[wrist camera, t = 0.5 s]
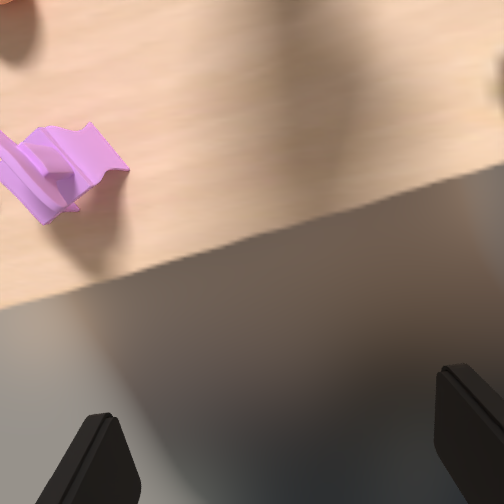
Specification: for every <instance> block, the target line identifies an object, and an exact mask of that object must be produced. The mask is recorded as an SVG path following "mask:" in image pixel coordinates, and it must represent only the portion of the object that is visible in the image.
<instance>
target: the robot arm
mask: <svg viewBox="0 0 504 504" xmlns="http://www.w3.org/2000/svg"><path fill="white" fill-rule="evenodd" d="M434 425H435V426H434V446H435V449H436V452H437V454H438V456H439V457H440V459H441V461H442V463H443V464H444V466H445V467H446V469H447V471H448V472H449V474H450V475H451V477H452V478H453V480H454V482H455V483H456V485H457V487H458V488H459V490H460V491H461V493H462V495H463V496H464V498H465V499H466V501H467V503H468V504H504V399H503V398H502V397H500V395H499V394H498V393H496V392H495V391H494V390H493V389H492V388H491V387H490V386H489V385H488V384H487V383H486V382H485V381H484V380H483V379H482V378H481V377H480V376H479V375H478V374H477V373H476V372H475V371H474V370H473V369H472V368H471V367H470V366H469V365H467V364H465V363H461V364H455V365H447V366H443V367H442V370H441V372H438V373H437V376H436V400H435V424H434ZM140 494H141V481H140V477H139V475H138V472H137V469H136V467H135V464H134V461H133V458H132V456H131V453H130V450H129V447H128V445H127V442H126V440H125V437H124V434H123V431H122V429H121V426H120V423H119V420H118V418H117V417H113V416H112V414H110V413H101V414H94V415H89V416H88V417H87V418H86V419H85V421H84V422H83V424H82V426H81V427H80V429H79V431H78V432H77V434H76V436H75V438H74V439H73V441H72V443H71V444H70V446H69V448H68V450H67V451H66V453H65V455H64V457H63V458H62V460H61V462H60V463H59V465H58V467H57V469H56V470H55V472H54V474H53V476H52V477H51V479H50V480H49V481H48V483H47V485H46V487H45V488H44V490H43V492H42V493H41V495H40V497H39V498H38V500H37V502H36V503H35V504H138V501H139V498H140Z"/></svg>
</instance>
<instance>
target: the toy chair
mask: <svg viewBox="0 0 504 504" xmlns="http://www.w3.org/2000/svg"><path fill="white" fill-rule="evenodd" d="M0 158H1V159H2V161H0V182H1V183H2V184H3V185H4V186H5V187H7V188H8V189H9V190H10V191H11V192H12V193H13V194H14V195H15V196H16V197H17V198H18V199H19V200H20V201H21V202H22V203H23V205H24V206H25V207H26V208H27V209H28V210H29V211H30V212H31V213H32V215H33V216H34V217H35V218H36V219H37V220H38V221H39V222H40V223H41V224H42V225H46V224H49V223H51V221H52V220H53V219H55V218H56V217H57V216H58V215H59V214H60V213H62V212H78V211H80V209H79V208H78V207H77V205H76V204H75V203H74V202H75V201H76V200H77V199H78V198H80V197H81V196H82V195H84V194H85V193H86V192H87V191H89V190H90V189H91V188H93V187H94V186H95V185H97V184H98V183H99V182H100V181H101V180H102V178H103V176H104V174H105V172H106V171H108V170H123V171H129V170H130V169H129V167H128V166H127V165H126V164H125V162H124V161H123V160H122V159H121V158H120V156H119V155H118V154H117V153H116V152H115V150H114V149H113V148H112V147H111V145H110V144H109V143H108V142H107V141H106V139H105V138H104V137H103V136H102V135H101V133H100V132H99V131H98V130H97V129H96V127H95V126H94V125H93V124H92V123H91V122H89V123H88V124H87V125H86V126H85V127H84V128H83V129H82V130H79V131H71V130H67V129H64V128H60V127H57V126H47V127H45V128H43V127H38V128H37V129H36V130H35V131H34V132H32V133H31V134H30V135H29V136H28V137H27V138H26V139H25V140H24V141H23V142H21V143H20V144H19V145H17V144H16V143H15V142H13V141H12V140H11V139H10V138H9V137H7V136H6V135H5V134H4V133H3V132H2V131H1V130H0Z"/></svg>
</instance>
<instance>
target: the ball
mask: <svg viewBox="0 0 504 504" xmlns="http://www.w3.org/2000/svg"><path fill="white" fill-rule="evenodd" d="M11 1H12V0H0V5H2V4H6V3H8V2H11Z"/></svg>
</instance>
